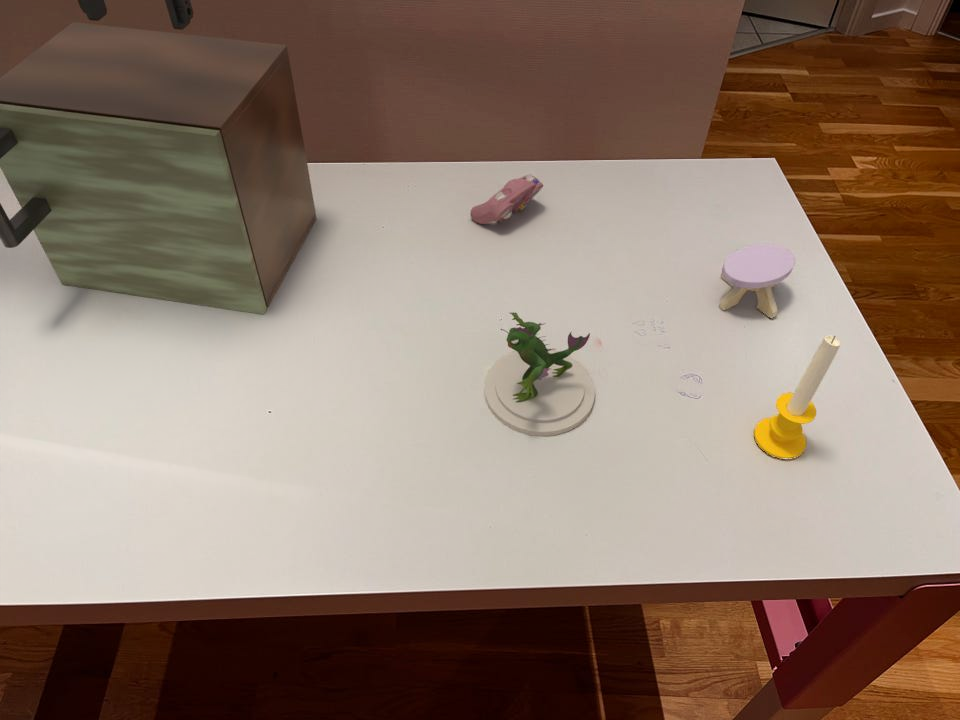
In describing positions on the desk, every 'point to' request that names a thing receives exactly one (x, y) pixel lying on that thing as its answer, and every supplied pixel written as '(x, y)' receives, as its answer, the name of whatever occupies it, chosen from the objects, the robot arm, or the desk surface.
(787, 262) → the toy table
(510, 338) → the monster figurine
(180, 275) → the cupboard door
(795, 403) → the candle
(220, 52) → the cupboard
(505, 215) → the pink toy car
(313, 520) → the desk surface
